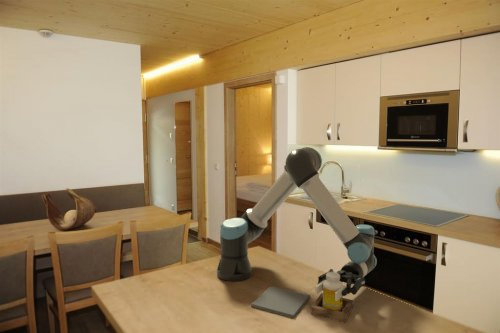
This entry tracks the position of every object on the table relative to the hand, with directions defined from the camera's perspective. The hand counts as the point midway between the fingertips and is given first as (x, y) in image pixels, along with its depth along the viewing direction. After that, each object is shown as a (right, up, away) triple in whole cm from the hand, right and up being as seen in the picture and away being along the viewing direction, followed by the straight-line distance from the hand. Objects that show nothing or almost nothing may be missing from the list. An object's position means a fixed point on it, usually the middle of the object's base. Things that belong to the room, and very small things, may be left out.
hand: (326, 293), depth 117 cm
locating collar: (+3, -8, +5) cm, 9 cm away
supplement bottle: (+3, -8, +5) cm, 10 cm away
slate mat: (-14, -7, +11) cm, 19 cm away
